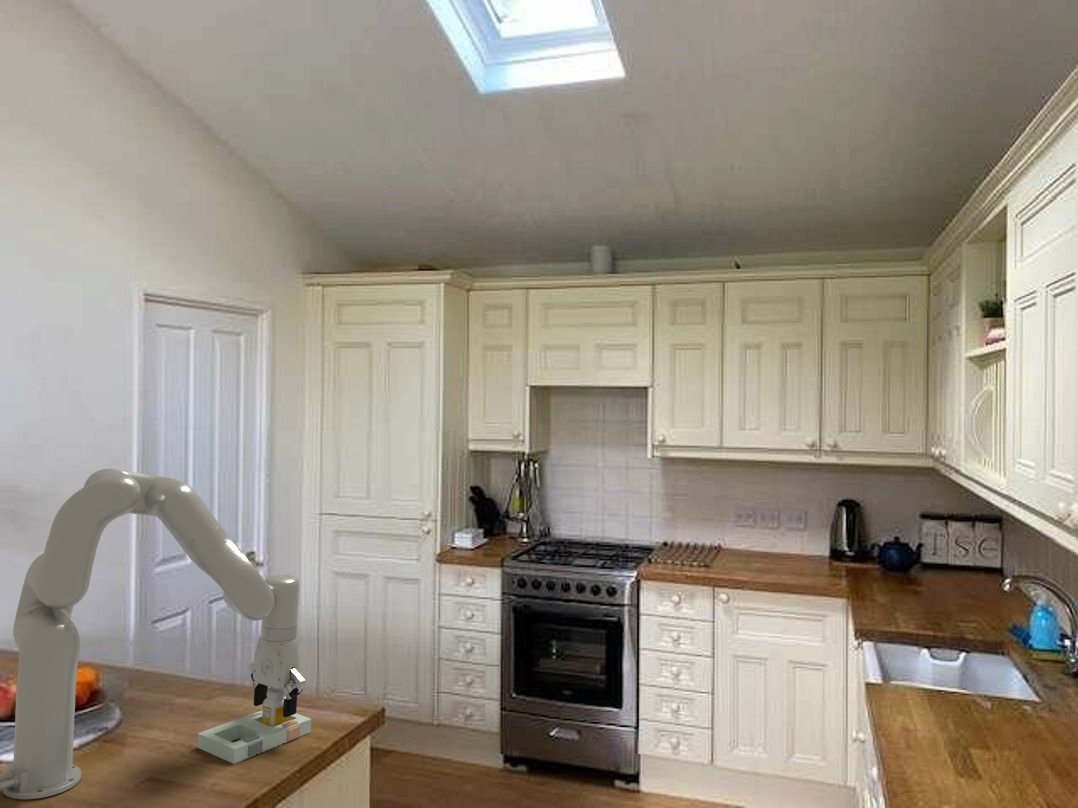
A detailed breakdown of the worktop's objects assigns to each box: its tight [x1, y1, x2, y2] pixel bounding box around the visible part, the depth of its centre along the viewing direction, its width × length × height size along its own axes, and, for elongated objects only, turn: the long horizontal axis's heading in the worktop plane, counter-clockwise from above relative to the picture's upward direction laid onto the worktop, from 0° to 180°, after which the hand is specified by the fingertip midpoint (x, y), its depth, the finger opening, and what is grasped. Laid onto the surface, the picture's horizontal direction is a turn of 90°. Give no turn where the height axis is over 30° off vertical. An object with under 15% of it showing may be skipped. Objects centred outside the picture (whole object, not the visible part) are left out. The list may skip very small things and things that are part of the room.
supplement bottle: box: [261, 687, 287, 727], centre depth 180 cm, size 5×5×10 cm
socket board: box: [196, 709, 312, 764], centre depth 176 cm, size 20×12×3 cm, turn 147°
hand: (274, 709), depth 180 cm, fingers open, 9 cm apart
